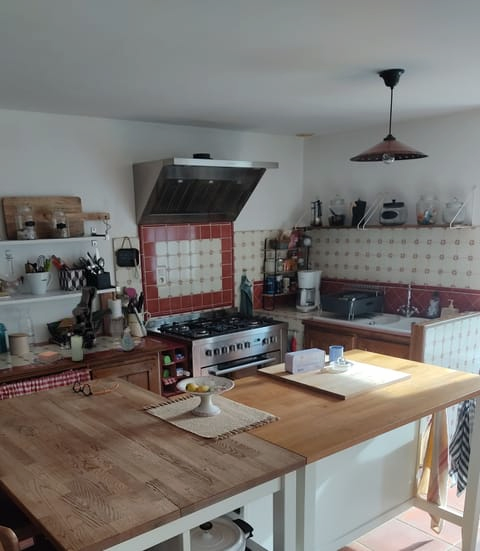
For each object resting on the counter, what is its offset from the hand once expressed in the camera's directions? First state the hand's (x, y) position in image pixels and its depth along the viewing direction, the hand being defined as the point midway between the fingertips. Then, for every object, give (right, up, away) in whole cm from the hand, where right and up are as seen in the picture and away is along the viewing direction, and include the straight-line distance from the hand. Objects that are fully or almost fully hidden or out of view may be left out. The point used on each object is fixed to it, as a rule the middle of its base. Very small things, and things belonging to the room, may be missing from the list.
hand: (76, 348), depth 279 cm
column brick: (0, -6, +2) cm, 7 cm away
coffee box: (+15, -2, +42) cm, 44 cm away
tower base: (-17, -7, +4) cm, 19 cm away
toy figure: (+24, -5, +23) cm, 33 cm away
